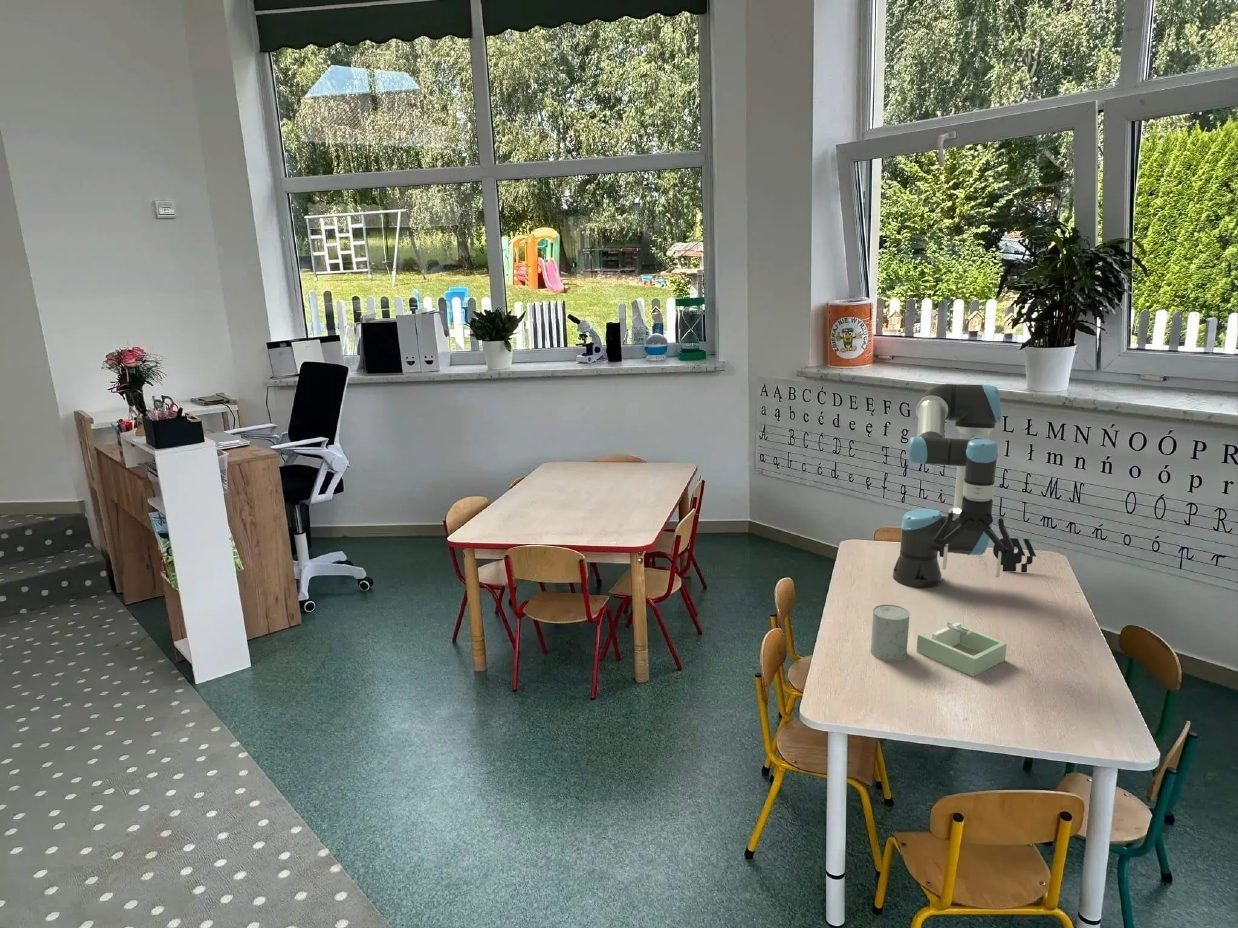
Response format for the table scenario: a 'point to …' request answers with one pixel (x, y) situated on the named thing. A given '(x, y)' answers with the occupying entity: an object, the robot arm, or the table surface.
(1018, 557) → the logo
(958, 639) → the pusher
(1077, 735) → the table surface
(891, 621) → the grey speckled cylinder
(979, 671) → the pale green open box
